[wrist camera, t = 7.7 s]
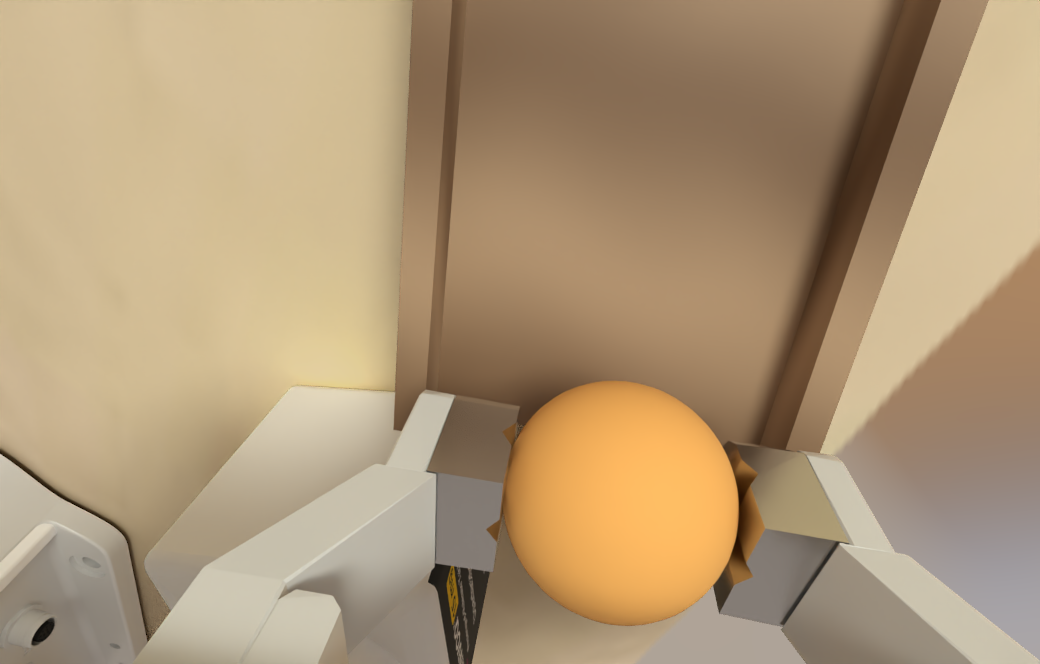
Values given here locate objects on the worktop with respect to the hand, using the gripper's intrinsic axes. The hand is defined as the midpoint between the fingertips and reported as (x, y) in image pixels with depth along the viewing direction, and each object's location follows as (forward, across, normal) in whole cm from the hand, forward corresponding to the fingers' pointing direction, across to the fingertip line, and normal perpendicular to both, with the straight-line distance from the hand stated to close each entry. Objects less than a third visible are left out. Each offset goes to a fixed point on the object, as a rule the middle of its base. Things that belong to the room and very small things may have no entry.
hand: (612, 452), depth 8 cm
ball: (-1, 0, 0) cm, 1 cm away
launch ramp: (+7, 0, -4) cm, 8 cm away
